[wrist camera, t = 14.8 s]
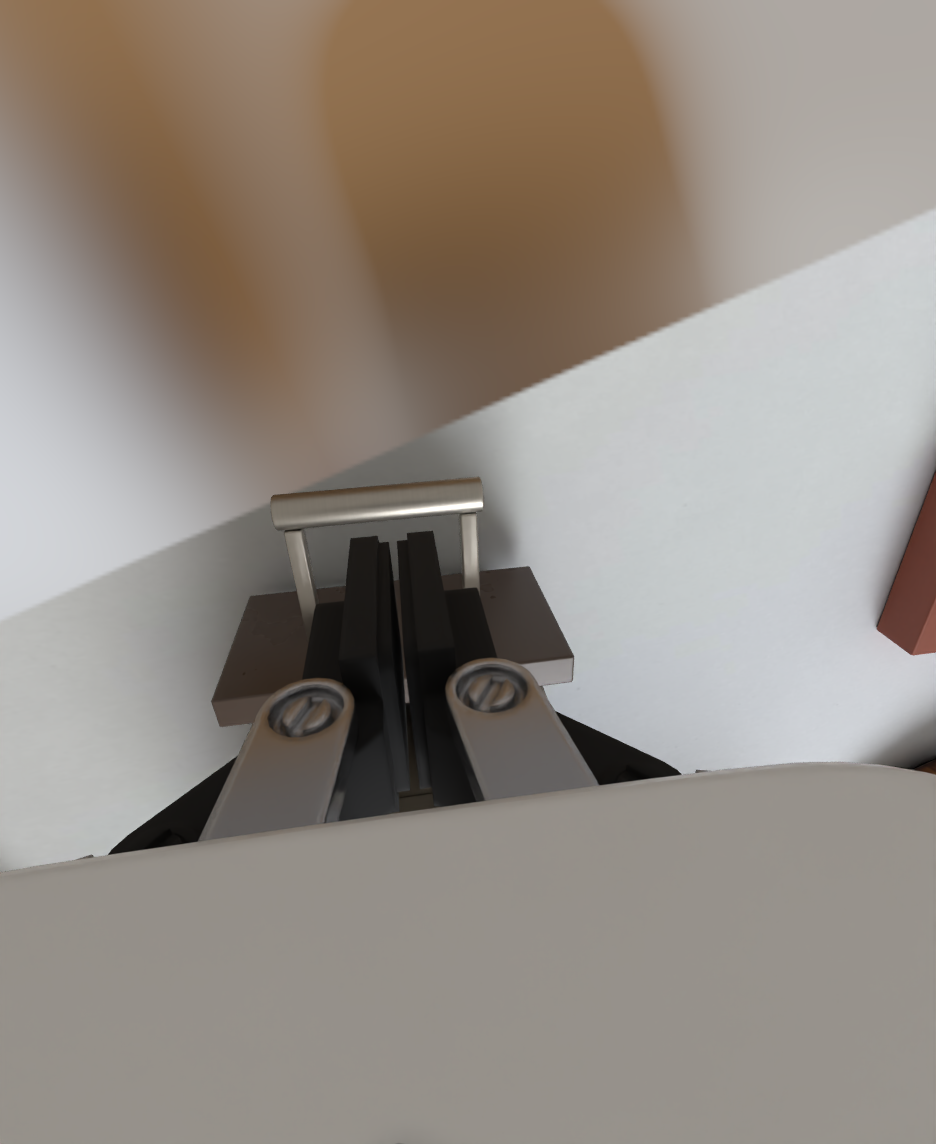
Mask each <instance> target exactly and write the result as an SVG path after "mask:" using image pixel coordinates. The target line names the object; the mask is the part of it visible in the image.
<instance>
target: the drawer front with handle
mask: <svg viewBox="0 0 936 1144" xmlns="http://www.w3.org/2000/svg"><path fill="white" fill-rule="evenodd" d="M483 507H484V496H483V487H482V482H481V479H480V477H469V478H458V479H447V480H436V481H425V482H414V483H402V484H391V485H380V486H369V487H358V488H347V489H335V490H324V491H313V492H302V493H291V494H280V495H273V496H272V497H271V516H272V521H273V524H274V527H275V529H276V530H277V531H283V530H285V532H284V536H285V540H286V545H287V549H288V554H289V558H290V563H291V567H292V572H293V576H294V581H295V585H296V590H297V591H293V592H284V593H274V594H265V595H256V596H250V598H249V600H248V603H247V606H246V609H245V611H244V614H243V617H242V619H241V622H240V625H239V628H238V630H237V633H236V636H235V638H234V641H233V644H232V647H231V649H230V652H229V655H228V657H227V660H226V663H225V665H224V668H223V671H222V674H221V676H220V679H219V682H218V684H217V687H216V690H215V693H214V695H213V698H212V701H211V702H212V705H213V708H214V711H215V714H216V717H217V720H218V723H219V726H220V727H226V726H233V725H241V724H249V723H253V722H254V720H255V718H256V716H257V714H258V712H259V710H260V708H261V707H262V705H263V704H264V702H265V701H266V700H267V699H268V698H269V697H270V696H271V695H273V694H274V693H275V692H276V691H278V690H279V689H281V688H283V687H285V686H287V685H289V684H291V683H294V682H297V681H300V680H302V676H303V671H304V665H305V660H306V654H307V649H308V643H309V637H310V632H311V626H312V621H313V615H314V610H315V606H316V604H319V603H328V602H338V601H344V599H345V589H346V586H340V587H330V588H321V589H316V585H315V580H314V576H313V571H312V566H311V561H310V556H309V551H308V546H307V541H306V536H305V531H304V528H314V527H324V526H335V525H345V524H355V523H366V522H376V521H387V520H397V519H408V518H418V517H428V516H439V515H449V514H459V531H460V549H461V567H462V573H461V574H452V575H443V576H441V577H442V582H443V588H444V590H454V589H464V588H473V587H477V589H478V591H479V595H480V598H481V602H482V605H483V609H484V612H485V616H486V619H487V623H488V626H489V630H490V633H491V637H492V640H493V644H494V647H495V651H496V654H497V658H500V659H506V660H510V661H513V662H516V663H518V664H520V665H522V666H523V667H525V668H527V669H528V670H529V671H530V673H531V674H532V675H533V676H534V677H535V679H536V680H537V682H538V684H539V685H540V687H541V689H542V690H543V692H544V694H545V691H544V688H543V685H551V684H558V683H566V682H572V681H573V667H574V655H573V653H572V651H571V649H570V647H569V645H568V643H567V641H566V639H565V637H564V635H563V633H562V631H561V629H560V627H559V625H558V623H557V621H556V619H555V617H554V615H553V613H552V611H551V609H550V607H549V605H548V603H547V601H546V599H545V597H544V595H543V593H542V591H541V589H540V587H539V585H538V583H537V581H536V579H535V577H534V575H533V573H532V571H531V569H530V567H529V566H527V567H517V568H508V569H499V570H489V571H480V572H479V553H478V526H477V513H476V512H480V511H483ZM394 588H395V596H396V604H397V612H398V621H399V629H400V637H401V645H402V655H403V668H404V686H405V704H406V722H407V739H408V757H409V775H410V791H402V792H399V810H400V812H394V813H390V814H395V813H402V812H410V811H417V810H424V809H431V808H438V807H439V806H436V807H434V803H433V794H432V788H424V789H420V786H419V778H418V770H417V761H416V753H415V745H414V736H413V728H412V720H411V711H410V703H409V695H408V686H407V678H406V670H405V660H404V649H403V635H402V617H401V600H400V583H399V580H396V581H394ZM545 695H546V694H545ZM546 697H547V696H546Z"/></svg>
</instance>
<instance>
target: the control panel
mask: <svg viewBox="0 0 936 1144" xmlns="http://www.w3.org/2000/svg"><path fill="white" fill-rule="evenodd" d="M877 630H878V631H879V632H881V633H882V634H883V635H885V636H886V637H887V638H889V639H890V640H891V641H893V642H894V643H895V644H897V645H898V646H900V647H901V648H902V649H904V650H905V651H906V652H908V653H909V654H910V655H919V654H927V653H935V652H936V472H935V474H934V477H933V480H932V482H931V485H930V488H929V490H928V493H927V496H926V498H925V501H924V504H923V506H922V509H921V512H920V514H919V517H918V520H917V522H916V525H915V528H914V530H913V533H912V536H911V538H910V541H909V544H908V546H907V549H906V552H905V554H904V557H903V560H902V562H901V565H900V568H899V570H898V573H897V576H896V578H895V581H894V584H893V586H892V589H891V592H890V594H889V597H888V600H887V602H886V605H885V608H884V610H883V613H882V616H881V618H880V621H879V624H878V626H877Z"/></svg>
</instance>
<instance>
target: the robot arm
mask: <svg viewBox="0 0 936 1144" xmlns="http://www.w3.org/2000/svg"><path fill="white" fill-rule="evenodd" d="M397 549H398V566H399V583H400V600H401V617H402V635H403V649H404V660H405V670H406V678H407V686H408V695H409V703H410V711H411V720H412V728H413V736H414V745H415V753H416V761H417V770H418V778H419V786H420V789H424V788H432V794H433V803H434V807H436V806H439V807H438V808H431V809H424V810H417V811H410V812H402V813H395V814H390V813H394V812H400V810H399V792H402V791H410V775H409V757H408V739H407V722H406V704H405V686H404V668H403V655H402V645H401V637H400V629H399V621H398V612H397V604H396V596H395V588H394V579H393V571H392V563H391V555H390V547H389V542H382V543H379V540H378V536H371V537H360V538H351V540H350V549H349V559H348V569H347V579H346V589H345V599H344V601H338V602H328V603H319V604H316V606H315V610H314V615H313V621H312V626H311V632H310V637H309V643H308V649H307V654H306V660H305V665H304V671H303V676H302V680H300V681H297V682H294V683H291V684H289V685H287V686H285V687H283V688H281V689H279V690H278V691H276V692H275V693H274V694H273V695H271V696H270V697H269V698H268V699H267V700H266V701H265V702H264V704H263V705H262V707H261V708H260V710H259V712H258V714H257V716H256V718H255V720H254V722H253V724H252V727H251V729H250V731H249V733H248V735H247V737H246V739H245V742H244V744H243V746H242V748H241V750H240V752H239V754H238V756H237V757H235V758H234V759H233V760H231V761H230V762H229V763H227V764H226V765H224V766H223V767H222V768H220V769H219V770H218V771H216V772H215V773H213V774H212V775H211V776H209V777H208V778H206V779H205V780H204V781H202V782H201V783H200V784H198V785H197V786H195V787H194V788H193V789H191V790H190V791H189V792H187V793H186V794H184V795H183V796H182V797H180V798H179V799H177V800H176V801H175V802H173V803H172V804H171V805H169V806H168V807H166V808H165V809H164V810H162V811H161V812H160V813H158V814H157V815H155V816H154V817H153V818H151V819H150V820H148V821H147V822H146V823H144V824H143V825H142V826H140V827H139V828H137V829H136V830H135V831H133V832H132V833H131V834H129V835H128V836H127V837H126V838H124V839H123V840H122V841H121V842H120V843H119V844H118V845H116V846H115V847H114V848H113V849H112V850H111V852H110V853H109V854H108V855H105V856H98V857H93V855H89V856H86V857H83V858H80V859H76V860H72V861H66V862H59V863H52V864H46V865H39V866H33V867H28V868H22V869H17V870H11V871H5V872H0V1144H936V775H934V774H930V773H926V772H921V771H915V770H909V769H903V768H898V767H892V766H886V765H879V764H865V763H850V762H803V763H786V764H776V765H766V766H755V767H745V768H734V769H724V770H715V771H707V770H696V772H695V773H693V774H685V775H682V774H681V773H680V772H679V771H678V770H676V769H675V768H673V767H671V766H670V765H668V764H666V763H665V762H663V761H661V760H659V759H657V758H655V757H652V756H650V755H648V754H646V753H644V752H642V751H640V750H637V749H635V748H633V747H631V746H629V745H627V744H625V743H622V742H620V741H618V740H616V739H614V738H612V737H610V736H607V735H605V734H603V733H601V732H599V731H597V730H595V729H592V728H590V727H588V726H586V725H584V724H582V723H580V722H577V721H575V720H573V719H571V718H569V717H567V716H565V715H562V714H560V713H558V712H556V711H555V710H554V709H553V707H552V705H551V704H550V702H549V700H548V699H547V697H546V695H545V694H544V692H543V690H542V689H541V687H540V685H539V684H538V682H537V680H536V679H535V677H534V676H533V675H532V674H531V673H530V671H529V670H528V669H527V668H525V667H523V666H522V665H520V664H518V663H516V662H513V661H510V660H506V659H500V658H497V654H496V651H495V647H494V644H493V640H492V637H491V633H490V630H489V626H488V623H487V619H486V616H485V612H484V609H483V605H482V602H481V598H480V595H479V591H478V589H477V587H473V588H464V589H454V590H444V588H443V582H442V577H441V571H440V566H439V561H438V555H437V550H436V545H435V539H434V534H433V531H425V532H414V533H407V540H403V541H397Z"/></svg>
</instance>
